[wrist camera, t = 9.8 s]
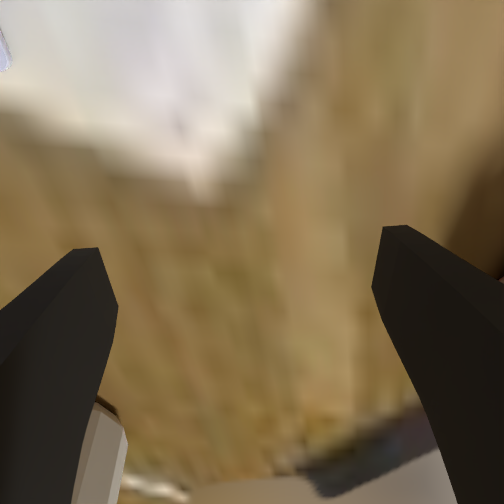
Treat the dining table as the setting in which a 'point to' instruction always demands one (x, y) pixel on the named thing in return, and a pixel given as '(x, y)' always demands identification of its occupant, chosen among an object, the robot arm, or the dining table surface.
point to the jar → (100, 459)
